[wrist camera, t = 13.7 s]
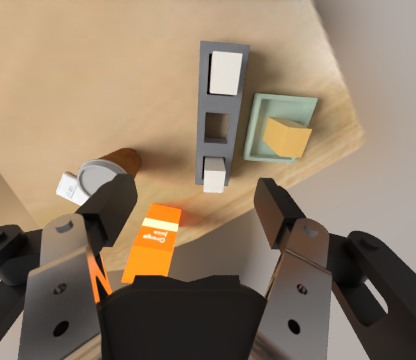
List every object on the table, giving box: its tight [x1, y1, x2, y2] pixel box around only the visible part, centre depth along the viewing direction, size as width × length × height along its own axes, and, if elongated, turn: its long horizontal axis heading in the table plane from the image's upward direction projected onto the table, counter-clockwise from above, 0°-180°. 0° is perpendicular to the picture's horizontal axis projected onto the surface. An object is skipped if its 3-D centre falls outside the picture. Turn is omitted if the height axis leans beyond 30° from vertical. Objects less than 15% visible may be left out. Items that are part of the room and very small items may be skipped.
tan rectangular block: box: [263, 117, 312, 158], centre depth 32 cm, size 5×4×10 cm
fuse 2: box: [203, 156, 226, 193], centre depth 37 cm, size 5×4×10 cm
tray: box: [243, 93, 318, 163], centre depth 36 cm, size 14×12×3 cm
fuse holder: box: [195, 41, 250, 186], centre depth 35 cm, size 27×8×4 cm, turn 176°
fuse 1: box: [209, 51, 242, 95], centre depth 28 cm, size 5×4×10 cm
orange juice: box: [121, 204, 181, 283], centre depth 41 cm, size 8×9×20 cm
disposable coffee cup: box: [77, 148, 141, 198], centre depth 35 cm, size 10×10×12 cm
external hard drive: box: [56, 172, 89, 206], centre depth 45 cm, size 2×8×12 cm
